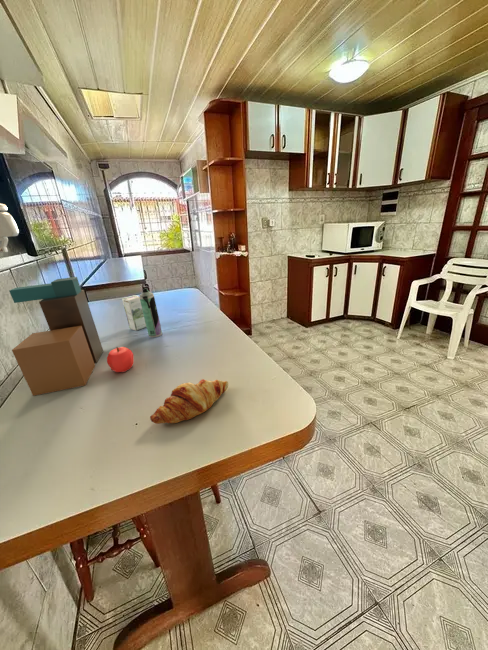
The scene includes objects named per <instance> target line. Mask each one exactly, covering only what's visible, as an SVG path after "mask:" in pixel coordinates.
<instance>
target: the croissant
mask: <svg viewBox="0 0 488 650" xmlns="http://www.w3.org/2000/svg"><path fill="white" fill-rule="evenodd" d="M228 388H229V381H227V380H225V381H223V380H220V379H215V380H207V379H204V378H202V379H200V380H199V382H198V383H193V382H185V383H181V384H179V385H177V386H176V387H175V388H174V389H173V390H171V394H170V396H169V397H166V399H165V400H164V402H163V405H160V406H159V407H158V408H156V410H155V412H153V414H151V415H150V416H149V419H150V421H151V422H152V423H154V424H166V423H167V424H176V423H180V422H182V421H188V420H191V419H193V418H195V417H197V416H199V415H201V414H203V413H205V412H206V411H208V410H209V409H211V408H212V406H213V404H214V403H216V402H217V401H218V400H219V399H220V397H221V396H222V395H223V394H224V393H225V392H226V391H227V390H228Z"/></svg>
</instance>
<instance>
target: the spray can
mask: <svg viewBox="0 0 488 650" xmlns="http://www.w3.org/2000/svg"><path fill="white" fill-rule="evenodd" d="M138 296H139V297H140V302H141V306H142V310H143V314H144V318H145V323H146V327H145V328H146V331H147V334H148V337H149V338H154V339H155V338H159V337H161V336H162V335H163V331H162V327H161V321H160V316H159V312H158V308H157V303H156V299H155V295H154V293H153V292H151V291H150V290H149V289H148V288H147V287H144V288H142V291H141V293H140V294H139V295H138Z"/></svg>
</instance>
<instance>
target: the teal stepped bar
mask: <svg viewBox="0 0 488 650" xmlns="http://www.w3.org/2000/svg"><path fill="white" fill-rule="evenodd" d="M81 290H82V288H81V285H80V282H79V279H78V277H77V276H72V277H71V276H70V277H64V278H63V277H62V278H57V279H54V280H53V281H51V282H49V283H43V284H41V283H40V284H35V285H26V286H25V285H24V286H19V287H14V288H12V289H9V290H8V292H9V294H10V296H11V299H12V301H13V303H14V304H18V303H25V302H33V301H41V300H43V299H48V298H55V297H56V298H58V297H65V296H73V295H77V294H79V293H80V292H81Z"/></svg>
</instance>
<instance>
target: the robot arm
mask: <svg viewBox="0 0 488 650" xmlns="http://www.w3.org/2000/svg"><path fill="white" fill-rule="evenodd" d="M19 233H20V230H19V228H18V225H17V223H16V221H15V219H14V217H13V216H12V214H10V212H8V207H7V205H6V204H5V203H1V202H0V242H1V244H0V253H9V249H8V247H7V246H8V243H9V238H8V237H18V236H19Z"/></svg>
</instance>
